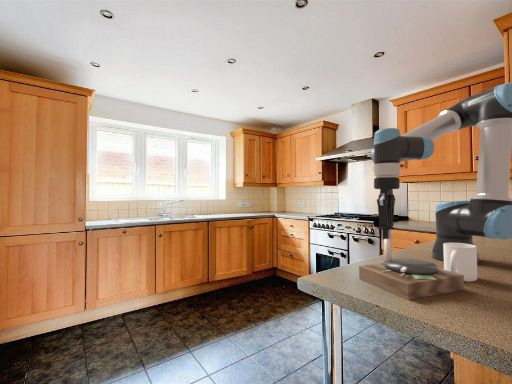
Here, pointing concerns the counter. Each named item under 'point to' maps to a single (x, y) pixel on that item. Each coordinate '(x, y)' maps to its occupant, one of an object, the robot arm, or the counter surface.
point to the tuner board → (411, 281)
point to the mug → (461, 260)
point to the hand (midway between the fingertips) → (386, 249)
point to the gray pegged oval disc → (407, 263)
